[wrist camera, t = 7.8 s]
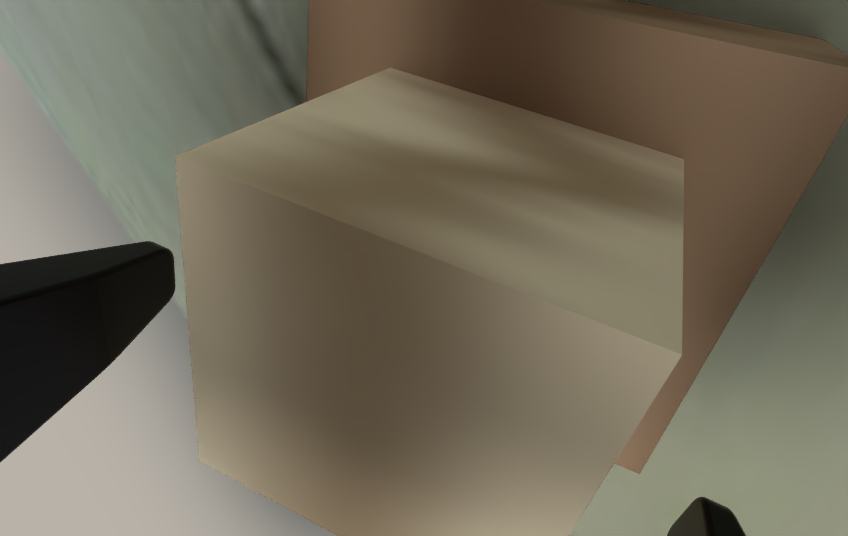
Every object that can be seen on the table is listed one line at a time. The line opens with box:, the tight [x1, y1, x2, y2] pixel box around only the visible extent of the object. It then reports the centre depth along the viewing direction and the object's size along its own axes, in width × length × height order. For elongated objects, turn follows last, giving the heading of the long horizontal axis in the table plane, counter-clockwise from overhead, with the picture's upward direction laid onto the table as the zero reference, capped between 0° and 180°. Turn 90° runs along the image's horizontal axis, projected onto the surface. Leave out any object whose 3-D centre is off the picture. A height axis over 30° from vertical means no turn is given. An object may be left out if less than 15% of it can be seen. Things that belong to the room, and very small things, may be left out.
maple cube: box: [175, 67, 684, 536], centre depth 10 cm, size 6×6×6 cm
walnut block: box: [306, 0, 848, 474], centre depth 14 cm, size 10×10×4 cm
